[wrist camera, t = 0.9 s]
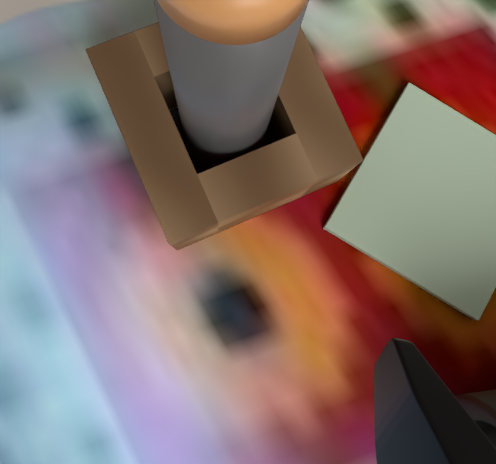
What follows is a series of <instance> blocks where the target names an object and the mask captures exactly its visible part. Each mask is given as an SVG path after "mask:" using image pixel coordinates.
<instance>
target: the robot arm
mask: <svg viewBox="0 0 496 464" xmlns="http://www.w3.org/2000/svg"><path fill="white" fill-rule="evenodd" d="M374 430H375V449H376V459H377V464H496V448H495V447H494V445H493V444H492V443H491V442H490V440H489V439H488V438H487V436H486V435H485V434H484V433H483V431H482V430H481V429H480V428H479V426H478V425H477V424H476V422H475V421H474V420H473V419H472V417H471V416H470V415H469V414H468V412H467V411H466V410H465V408H464V407H463V406H462V405H461V403H460V402H459V401H458V400H457V398H456V397H455V396H454V395H453V393H452V392H451V391H450V389H449V388H448V387H447V386H446V384H445V383H444V382H443V381H442V379H441V378H440V377H439V375H438V374H437V373H436V372H435V370H434V369H433V368H432V367H431V365H430V364H429V363H428V361H427V360H426V359H425V358H424V356H423V355H422V354H421V353H420V351H419V350H418V349H417V347H416V346H415V345H414V344H413V343H412V342H410V341H407V340H403V339H398V338H392V339H390V340H389V341H388V343H387V344H386V346H385V348H384V349H383V351H382V353H381V355H380V356H379V358H378V360H377V362H376V364H375V369H374Z"/></svg>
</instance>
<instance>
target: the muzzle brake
mask: <svg viewBox="0 0 496 464" xmlns="http://www.w3.org/2000/svg"><path fill="white" fill-rule="evenodd" d="M454 396H455V397H456V398H457V400H458V401H459V402H460V403H461V405H462V406H463V407H464V408H465V410H466V411H467V412H468V414H469V415H470V416H471V417H472V419H473V420H474V421H475V422H476V424H477V425H478V426H479V428H480V429H481V430H482V431H483V433H484V434H485V435H486V436H487V438H488V439H489V440H490V442H491V443H492V444H493V445H494V447H495V448H496V389H495V390H487V391H479V392H472V393H464V394H458V395H454Z"/></svg>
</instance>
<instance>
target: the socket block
mask: <svg viewBox="0 0 496 464" xmlns="http://www.w3.org/2000/svg"><path fill="white" fill-rule="evenodd" d="M86 52H87V54H88V56H89V59H90V61H91V63H92V66H93V68H94V70H95V73H96V75H97V77H98V80H99V82H100V84H101V87H102V89H103V91H104V94H105V96H106V98H107V101H108V103H109V105H110V108H111V110H112V112H113V115H114V117H115V119H116V122H117V124H118V126H119V129H120V131H121V133H122V136H123V138H124V140H125V143H126V145H127V147H128V150H129V152H130V154H131V157H132V159H133V161H134V164H135V166H136V168H137V171H138V173H139V175H140V178H141V180H142V182H143V185H144V187H145V189H146V192H147V194H148V196H149V199H150V201H151V203H152V206H153V208H154V210H155V213H156V215H157V217H158V220H159V222H160V224H161V227H162V229H163V231H164V234H165V236H166V238H167V241H168V243H169V244H170V245H171V246H173V247H174V248H175V249H176V250H179V249H181V248H184V247H186V246H188V245H191V244H193V243H195V242H198V241H200V240H202V239H205V238H207V237H209V236H212V235H214V234H216V233H219V232H221V231H223V230H225V229H228V228H230V227H232V226H235V225H237V224H239V223H242V222H244V221H246V220H249V219H251V218H253V217H256V216H258V215H260V214H263V213H265V212H267V211H270V210H272V209H274V208H277V207H279V206H281V205H283V204H286V203H288V202H290V201H293V200H295V199H297V198H300V197H302V196H304V195H307V194H309V193H311V192H314V191H316V190H318V189H321V188H323V187H325V186H328V185H330V184H332V183H335V182H337V181H339V180H340V179H341V178H342V177H344V176H345V175H346V174H347V173H348V172H350V171H351V170H352V169H353V168H354V167H356V166H357V165H358V164H359V163H360V162H362V161H363V158H362V156H361V154H360V152H359V150H358V147H357V145H356V143H355V141H354V139H353V137H352V135H351V133H350V130H349V128H348V126H347V124H346V122H345V120H344V118H343V116H342V113H341V111H340V109H339V107H338V105H337V103H336V101H335V99H334V96H333V94H332V92H331V90H330V88H329V86H328V84H327V82H326V79H325V77H324V75H323V73H322V71H321V69H320V67H319V65H318V62H317V60H316V58H315V56H314V54H313V52H312V50H311V48H310V45H309V43H308V41H307V39H306V37H305V35H304V33H303V31H302V28H301V26H300V29H299V32H298V35H297V38H296V41H295V44H294V47H293V51H292V54H291V57H290V60H289V63H288V66H287V69H286V72H285V75H284V78H283V81H282V84H281V87H280V90H279V94H278V97H277V100H276V103H275V106H274V109H273V112H272V115H271V118H270V121H269V124H268V128H269V130H270V132H271V134H272V136H273V139H274V141H275V142H274V143H272V144H269V145H267V146H264V147H262V148H259V149H257V150H255V151H252V152H250V153H247V154H245V155H243V156H240V157H238V158H235V159H233V160H230V161H228V162H226V163H223V164H221V165H218V166H216V167H213V168H211V169H209V170H206V171H204V172H201V173H199V174H197V173H196V171H195V168H194V166H193V164H192V161H191V159H190V157H189V155H188V152H187V150H186V148H185V146H184V143H183V141H182V139H181V136H180V134H179V132H178V130H177V127H176V125H175V123H174V120H173V118H172V116H171V114H170V111H169V110H172V109H174V108H177V107H178V106H177V101H176V97H175V92H174V88H173V83H172V79H171V74H170V70H169V66H168V61H167V57H166V52H165V48H164V43H163V39H162V34H161V30H160V25H159V22H158V23H155V24H152V25H150V26H147V27H144V28H142V29H139V30H136V31H133V32H131V33H128V34H125V35H123V36H120V37H117V38H115V39H112V40H109V41H106V42H104V43H101V44H98V45H96V46H93V47H90V48H88V49H86Z"/></svg>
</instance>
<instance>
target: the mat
mask: <svg viewBox="0 0 496 464" xmlns="http://www.w3.org/2000/svg"><path fill="white" fill-rule="evenodd" d="M323 229H325V230H326V231H328V232H330V233H331V234H333V235H335V236H336V237H338V238H340V239H341V240H343V241H345V242H346V243H348V244H349V245H351V246H353V247H354V248H356V249H358V250H359V251H361V252H363V253H364V254H366V255H368V256H369V257H371V258H372V259H374V260H376V261H377V262H379V263H381V264H382V265H384V266H386V267H387V268H389V269H391V270H392V271H394V272H395V273H397V274H399V275H400V276H402V277H404V278H405V279H407V280H409V281H410V282H412V283H414V284H415V285H417V286H419V287H420V288H422V289H423V290H425V291H427V292H428V293H430V294H432V295H433V296H435V297H437V298H438V299H440V300H442V301H443V302H445V303H446V304H448V305H450V306H451V307H453V308H455V309H456V310H458V311H460V312H461V313H463V314H465V315H466V316H468V317H469V318H471V319H473V320H479V319H480V317H481V315H482V313H483V311H484V309H485V307H486V305H487V303H488V301H489V299H490V298H491V296H492V294H493V292H494V290H495V288H496V135H495V134H493V133H491V132H490V131H488V130H486V129H485V128H483V127H482V126H480V125H478V124H477V123H475V122H473V121H472V120H470V119H468V118H467V117H465V116H463V115H462V114H460V113H459V112H457V111H455V110H454V109H452V108H450V107H449V106H447V105H445V104H444V103H442V102H440V101H439V100H437V99H436V98H434V97H432V96H431V95H429V94H427V93H426V92H424V91H422V90H421V89H419V88H417V87H416V86H414V85H413V84H411V83H408V84H407V85H406V86H405V88H404V90H403V92H402V93H401V95H400V97H399V98H398V100H397V102H396V104H395V105H394V107H393V109H392V110H391V112H390V114H389V116H388V117H387V119H386V121H385V122H384V124H383V126H382V128H381V129H380V131H379V133H378V134H377V136H376V138H375V140H374V141H373V143H372V145H371V146H370V148H369V150H368V152H367V153H366V155H365V157H364V158H363V161H362V162H361V164H360V165H359V167H358V169H357V170H356V172H355V174H354V176H353V177H352V179H351V181H350V182H349V184H348V186H347V188H346V189H345V191H344V193H343V194H342V196H341V198H340V200H339V201H338V203H337V205H336V206H335V208H334V210H333V212H332V213H331V215H330V217H329V218H328V220H327V222H326V224H325V225H324V227H323Z"/></svg>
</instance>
